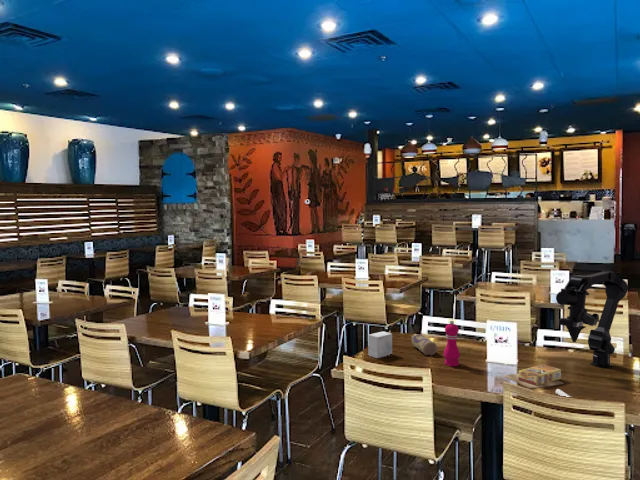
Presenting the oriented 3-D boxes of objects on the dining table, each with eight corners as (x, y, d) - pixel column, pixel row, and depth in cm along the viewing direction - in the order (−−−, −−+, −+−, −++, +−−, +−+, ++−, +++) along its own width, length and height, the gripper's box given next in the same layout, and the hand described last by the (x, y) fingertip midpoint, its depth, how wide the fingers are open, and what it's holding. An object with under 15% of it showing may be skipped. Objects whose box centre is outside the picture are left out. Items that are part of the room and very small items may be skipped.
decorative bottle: (438, 355, 257) (438, 341, 256) (423, 356, 256) (422, 342, 255) (420, 341, 282) (419, 329, 282) (406, 342, 281) (406, 330, 281)
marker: (587, 412, 185) (587, 405, 185) (582, 412, 185) (582, 406, 185) (560, 394, 203) (560, 388, 203) (555, 394, 203) (555, 388, 203)
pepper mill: (441, 362, 245) (441, 319, 244) (456, 361, 246) (456, 318, 244) (446, 367, 238) (446, 322, 237) (462, 366, 239) (462, 322, 237)
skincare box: (377, 358, 253) (377, 336, 252) (368, 355, 258) (367, 334, 257) (392, 354, 259) (392, 333, 259) (383, 351, 264) (383, 330, 264)
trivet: (535, 372, 229) (535, 371, 229) (563, 383, 214) (563, 382, 214) (504, 376, 224) (504, 375, 224) (530, 388, 209) (530, 387, 209)
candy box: (561, 369, 218) (536, 375, 210) (561, 379, 218) (536, 386, 210) (542, 363, 225) (518, 370, 217) (542, 373, 226) (517, 380, 218)
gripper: (586, 308, 215) (582, 347, 215) (607, 307, 227) (603, 344, 227) (559, 304, 224) (556, 341, 224) (580, 303, 236) (577, 339, 236)
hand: (574, 341), depth 228 cm, fingers closed
